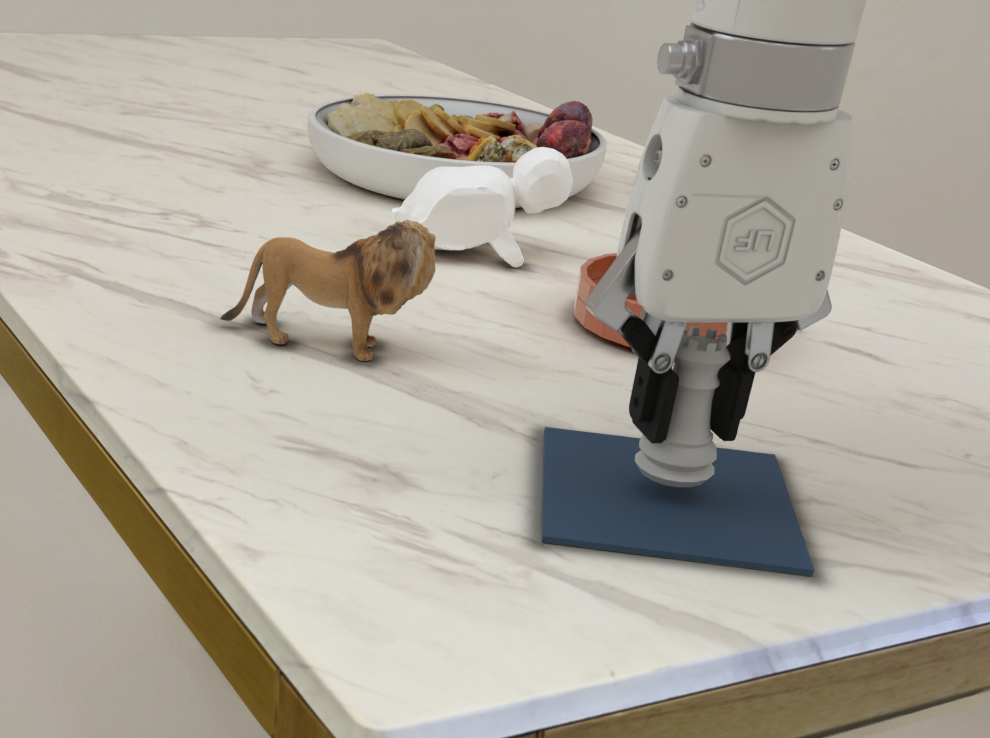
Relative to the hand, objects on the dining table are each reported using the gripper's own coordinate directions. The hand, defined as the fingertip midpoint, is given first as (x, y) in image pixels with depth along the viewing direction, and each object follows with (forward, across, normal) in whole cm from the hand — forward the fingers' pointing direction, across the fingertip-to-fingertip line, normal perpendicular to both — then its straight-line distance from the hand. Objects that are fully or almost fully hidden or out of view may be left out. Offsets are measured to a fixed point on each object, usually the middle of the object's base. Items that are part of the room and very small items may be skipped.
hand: (682, 428), depth 69 cm
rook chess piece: (+3, 0, 0) cm, 3 cm away
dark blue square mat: (+4, 0, 0) cm, 4 cm away
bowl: (+4, +7, +70) cm, 70 cm away
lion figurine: (+5, -15, +24) cm, 29 cm away
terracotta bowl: (+4, +12, +27) cm, 29 cm away
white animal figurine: (+4, +2, +45) cm, 45 cm away
